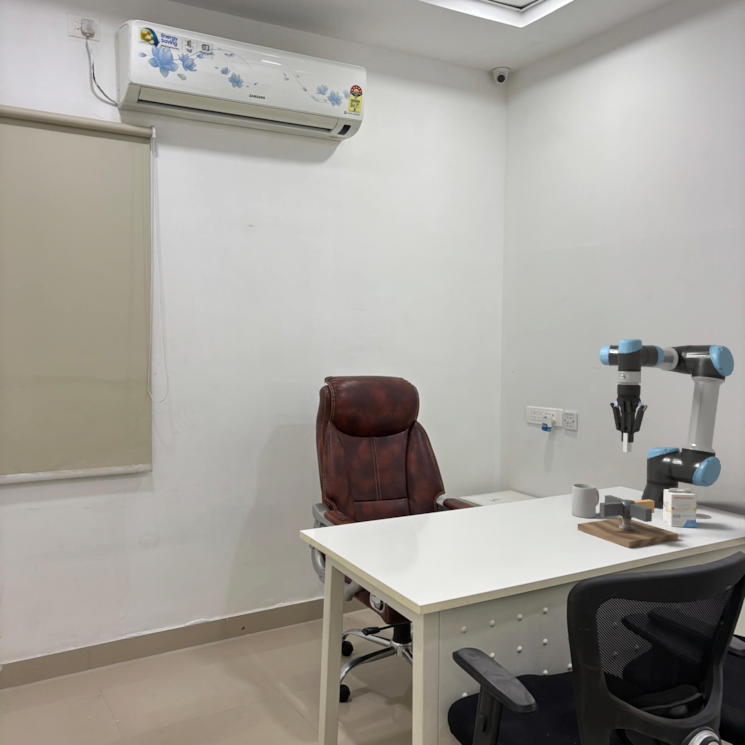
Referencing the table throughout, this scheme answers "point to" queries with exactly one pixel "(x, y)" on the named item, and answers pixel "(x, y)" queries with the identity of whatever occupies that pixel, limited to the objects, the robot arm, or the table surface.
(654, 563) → the table surface
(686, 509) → the ink box
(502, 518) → the table surface
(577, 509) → the mug
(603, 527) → the stud base
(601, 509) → the grey bar cross
